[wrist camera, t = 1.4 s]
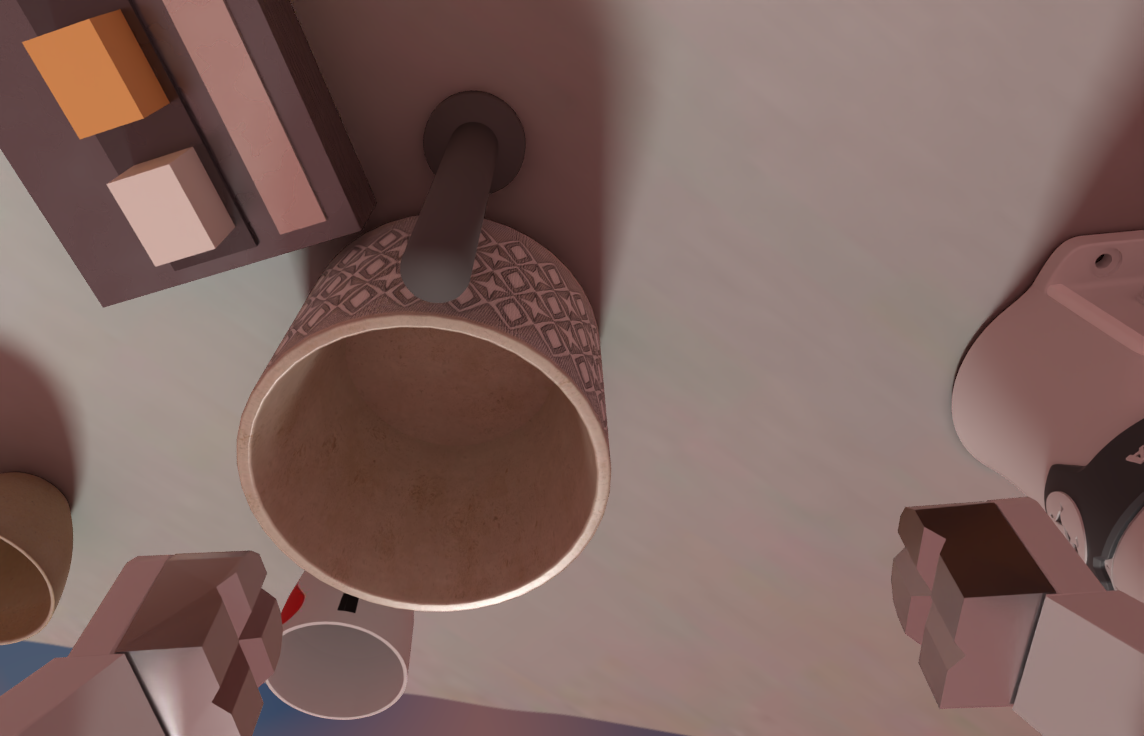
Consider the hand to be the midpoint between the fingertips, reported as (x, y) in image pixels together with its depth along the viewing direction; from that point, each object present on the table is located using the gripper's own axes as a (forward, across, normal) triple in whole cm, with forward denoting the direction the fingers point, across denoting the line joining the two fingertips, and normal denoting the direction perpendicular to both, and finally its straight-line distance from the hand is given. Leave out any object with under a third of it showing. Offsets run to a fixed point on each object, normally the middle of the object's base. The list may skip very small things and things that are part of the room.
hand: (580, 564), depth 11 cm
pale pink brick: (+30, +18, +4) cm, 35 cm away
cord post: (+34, +5, +4) cm, 35 cm away
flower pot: (+34, +36, +24) cm, 56 cm away
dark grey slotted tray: (+34, +19, -2) cm, 39 cm away
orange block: (+30, +19, -2) cm, 36 cm away
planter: (+35, +7, +15) cm, 39 cm away
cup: (+34, +15, +30) cm, 48 cm away
